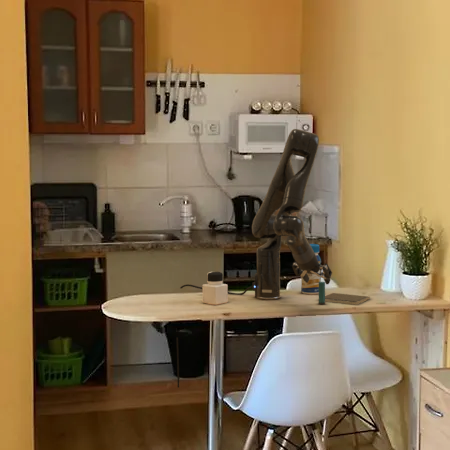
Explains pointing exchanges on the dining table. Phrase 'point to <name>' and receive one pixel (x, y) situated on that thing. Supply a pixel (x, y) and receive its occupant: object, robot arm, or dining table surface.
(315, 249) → the beverage bottle
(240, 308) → the dining table surface
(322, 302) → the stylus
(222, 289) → the medicine bottle
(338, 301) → the brown flat rectangular slab
